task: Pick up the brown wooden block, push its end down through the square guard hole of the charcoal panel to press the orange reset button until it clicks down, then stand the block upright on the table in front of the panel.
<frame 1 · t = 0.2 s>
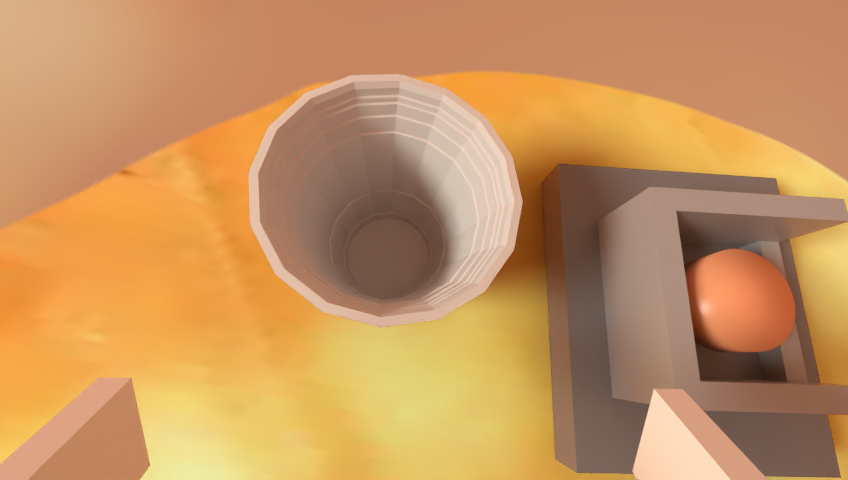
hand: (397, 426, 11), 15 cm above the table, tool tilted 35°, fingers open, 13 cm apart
plastic cup: (391, 256, 28), on the table
switch panel: (657, 313, 28), on the table
button: (730, 301, 22), point 6 cm above the table, slide at 0.0 cm
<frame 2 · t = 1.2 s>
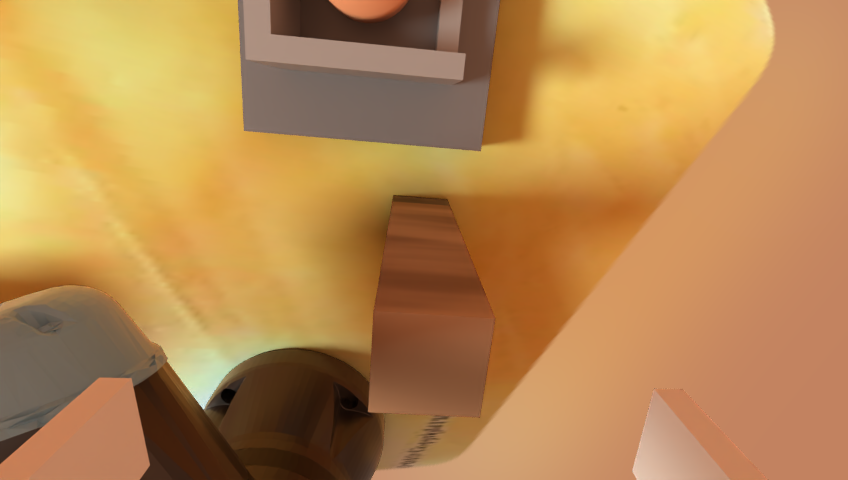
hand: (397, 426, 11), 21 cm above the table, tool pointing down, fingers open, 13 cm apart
brown wooden block: (418, 223, 31), on the table
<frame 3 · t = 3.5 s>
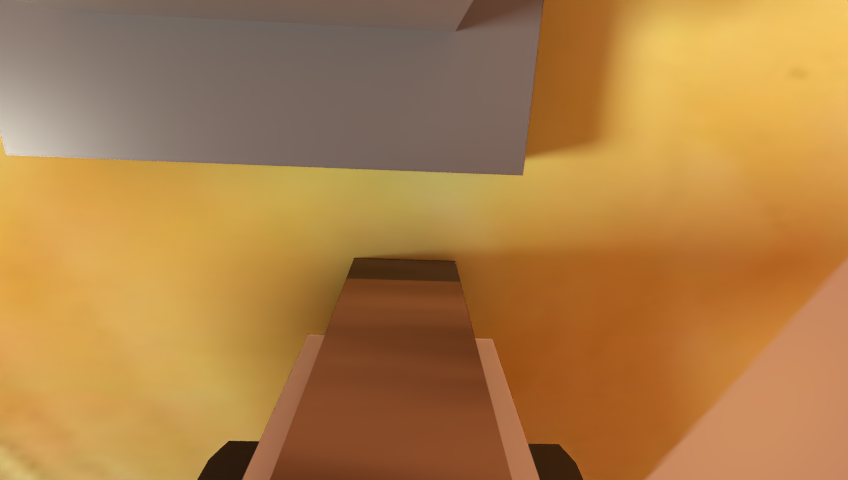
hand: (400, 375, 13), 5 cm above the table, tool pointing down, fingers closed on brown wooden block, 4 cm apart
brown wooden block: (403, 304, 17), on the table, touching gripper
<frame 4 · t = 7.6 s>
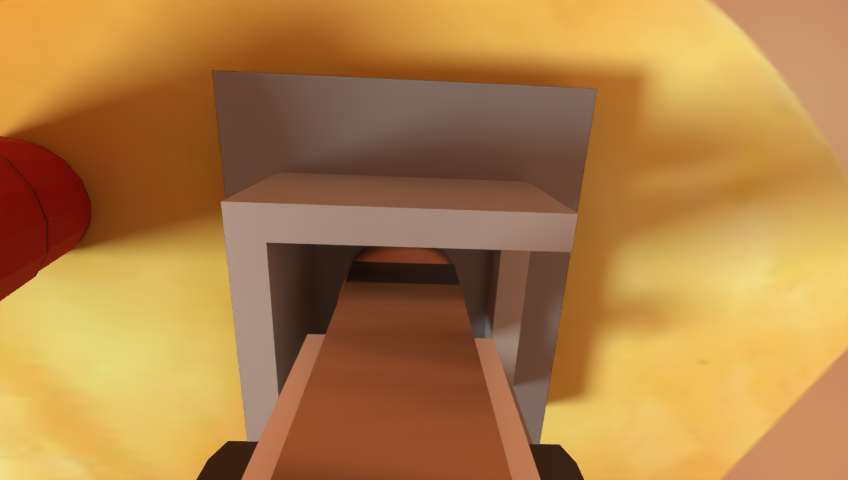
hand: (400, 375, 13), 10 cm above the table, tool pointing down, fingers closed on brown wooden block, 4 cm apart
brown wooden block: (402, 308, 17), point 5 cm above the table, touching button, gripper
plastic cup: (38, 196, 20), on the table
switch panel: (403, 266, 22), on the table
button: (401, 300, 18), point 4 cm above the table, slide at 2.2 cm, touching brown wooden block, switch panel
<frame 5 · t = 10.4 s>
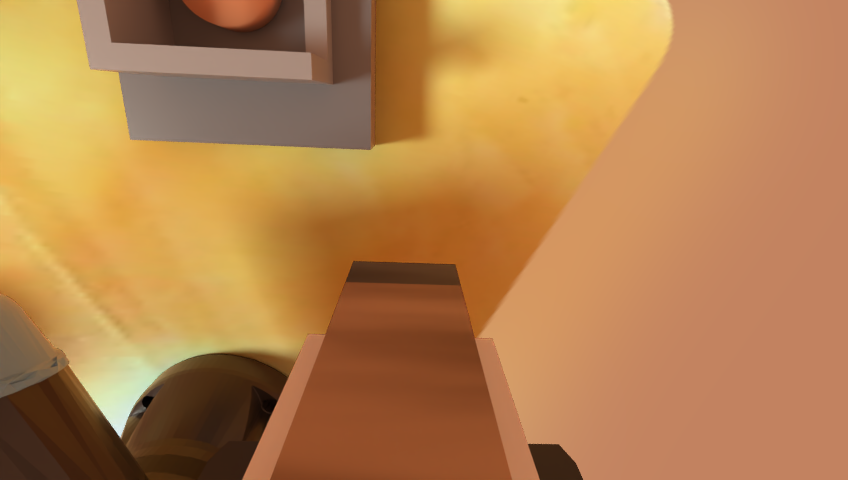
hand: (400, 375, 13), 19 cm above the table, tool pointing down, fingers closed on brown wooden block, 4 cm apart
brown wooden block: (403, 308, 17), point 15 cm above the table, touching gripper
when the fingers open (6 cm above the table, at t = 13.0 s): brown wooden block drops 1 cm, on the table.
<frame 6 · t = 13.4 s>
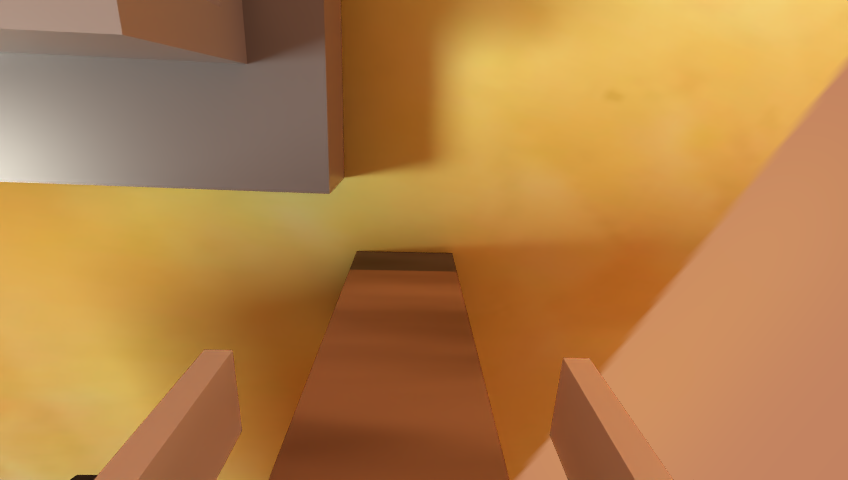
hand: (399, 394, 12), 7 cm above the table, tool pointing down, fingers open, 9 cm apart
brown wooden block: (403, 295, 18), on the table
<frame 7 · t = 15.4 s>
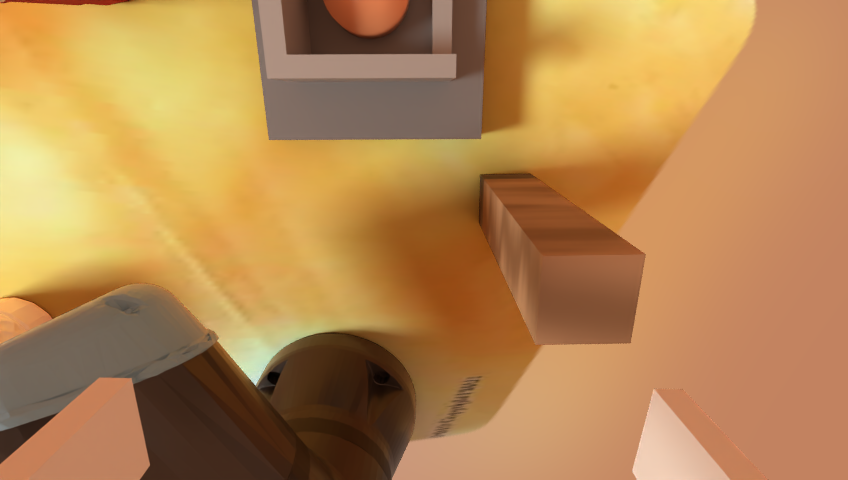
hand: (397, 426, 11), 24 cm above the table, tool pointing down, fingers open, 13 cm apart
brown wooden block: (504, 198, 34), on the table
switch panel: (374, 4, 29), on the table
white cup: (25, 328, 38), on the table
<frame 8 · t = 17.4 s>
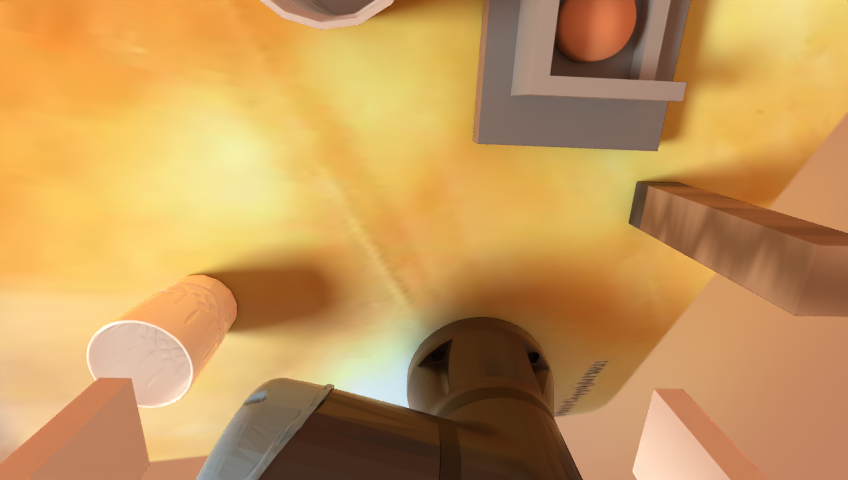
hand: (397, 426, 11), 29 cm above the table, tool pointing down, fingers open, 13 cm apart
brown wooden block: (653, 203, 39), on the table
switch panel: (572, 32, 34), on the table
button: (593, 22, 30), point 4 cm above the table, slide at 2.0 cm
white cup: (204, 304, 41), on the table
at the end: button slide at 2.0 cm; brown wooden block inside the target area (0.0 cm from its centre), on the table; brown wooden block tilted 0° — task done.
